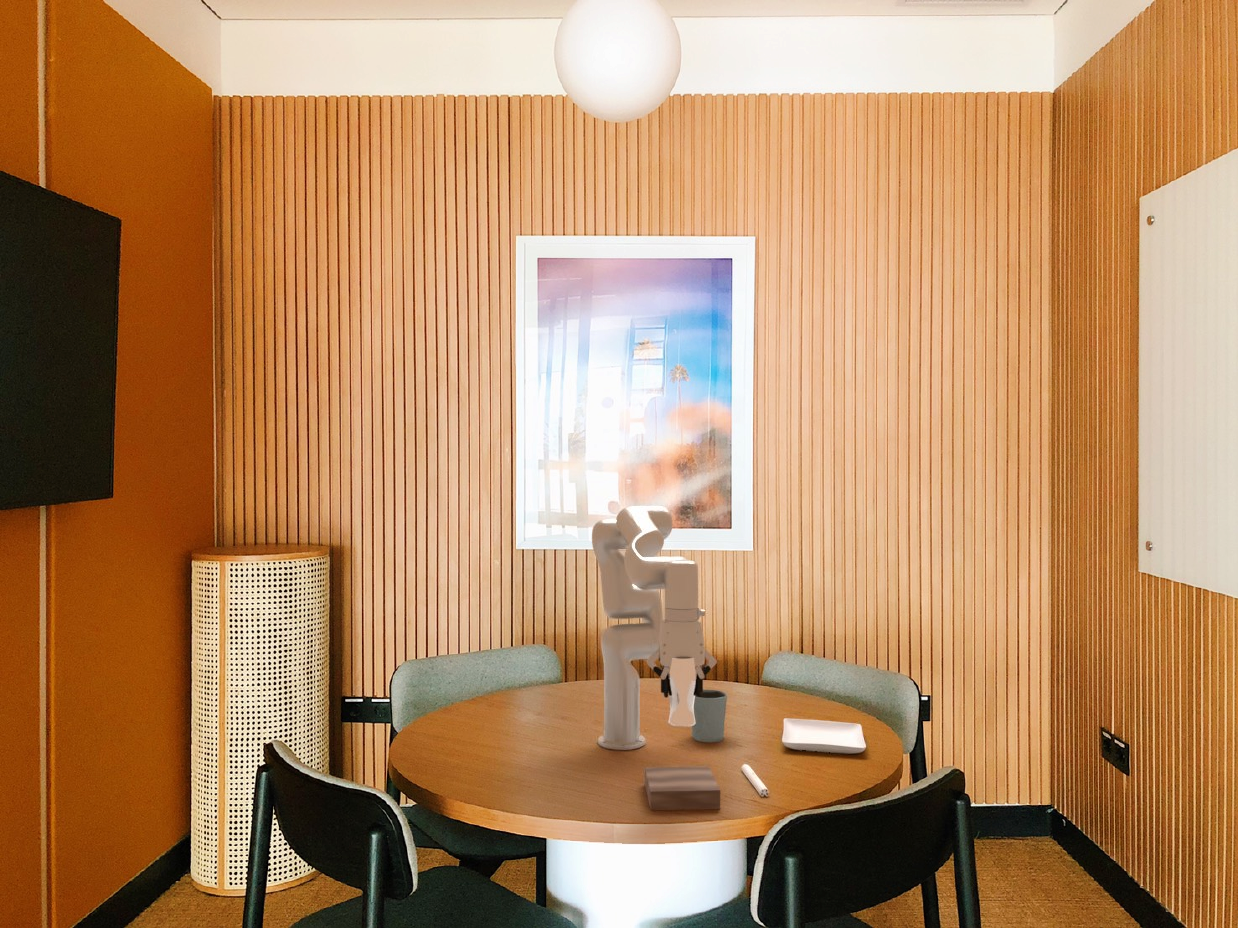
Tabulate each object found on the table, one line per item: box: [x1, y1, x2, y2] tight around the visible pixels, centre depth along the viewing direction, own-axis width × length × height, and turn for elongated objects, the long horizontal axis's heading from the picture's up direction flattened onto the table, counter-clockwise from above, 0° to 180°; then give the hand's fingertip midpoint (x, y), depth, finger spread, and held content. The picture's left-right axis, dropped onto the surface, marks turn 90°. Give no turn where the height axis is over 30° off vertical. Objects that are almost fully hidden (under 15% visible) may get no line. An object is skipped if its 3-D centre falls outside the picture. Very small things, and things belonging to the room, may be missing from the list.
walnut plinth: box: [644, 765, 721, 811], centre depth 189 cm, size 15×15×4 cm
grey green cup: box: [691, 689, 728, 743], centre depth 232 cm, size 10×10×12 cm
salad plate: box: [781, 717, 867, 755], centre depth 228 cm, size 21×21×3 cm
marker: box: [741, 763, 770, 797], centre depth 198 cm, size 18×2×2 cm, turn 7°
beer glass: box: [667, 658, 698, 728], centre depth 189 cm, size 7×7×15 cm
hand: (681, 695), depth 189 cm, fingers closed on beer glass, 6 cm apart
